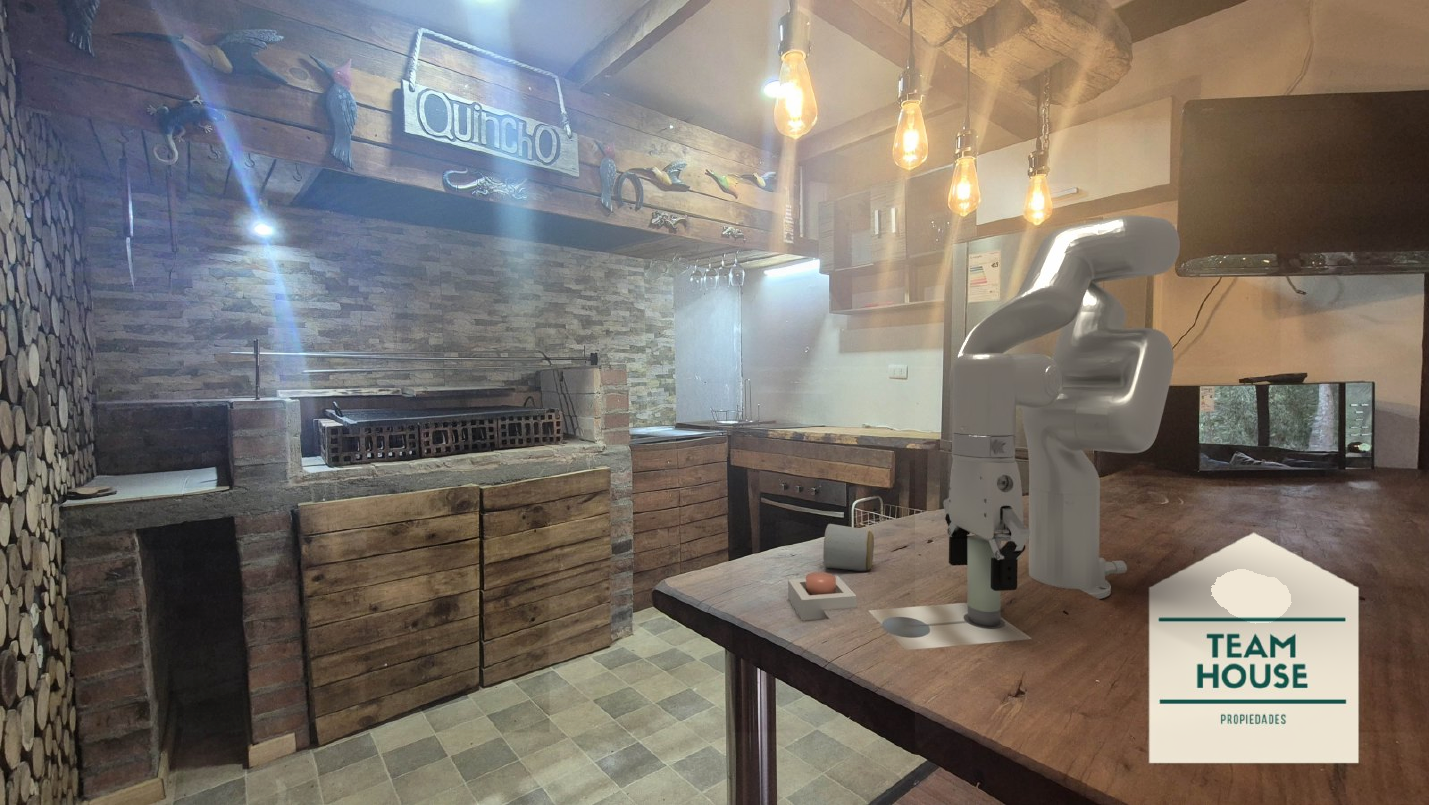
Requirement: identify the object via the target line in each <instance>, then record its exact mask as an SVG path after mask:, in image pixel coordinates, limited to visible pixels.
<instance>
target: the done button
mask: <svg viewBox="0 0 1429 805" xmlns="http://www.w3.org/2000/svg"><path fill="white" fill-rule="evenodd" d="M835 576H836V575H834V574H831V573H829V572H820V571H819V572H818V571H815V572H811V573H808V574H806V575H805V578H806V591H807V593H809V594H811V595H822V594H835V593H836V577H835Z"/></svg>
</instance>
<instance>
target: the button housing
mask: <svg viewBox="0 0 1429 805" xmlns="http://www.w3.org/2000/svg"><path fill="white" fill-rule="evenodd" d="M834 576H835V577H836V593H835V594H822V595H811V594H809V593H807V591H806V577H805V578H793V579H788V580H787V584H788V585H787V590H788V592H787V594H788V595H787V596H788V597H787V598H788V601H789V602H790V604H791V605H792V606H793V608H794V609H795V612H796V613H797V614H798V617H799V618H800V619H801V621H802V622H803V621H816V620H817V621H818V620H827V619H830V617H829V616H828V615H827V614H826V612H825V611H831V610H833V611H834V610H843V609H856V608H858V604H857V603H858V602H857V601H858V600H857V599H858V598H857V597H858V596H857V595H856V593H854V591H852V590H851V588H850V587H849V586H848V585H847V584H846V583H845V581H843V579H841V578H840V577H839V576H838V575H834Z"/></svg>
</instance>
